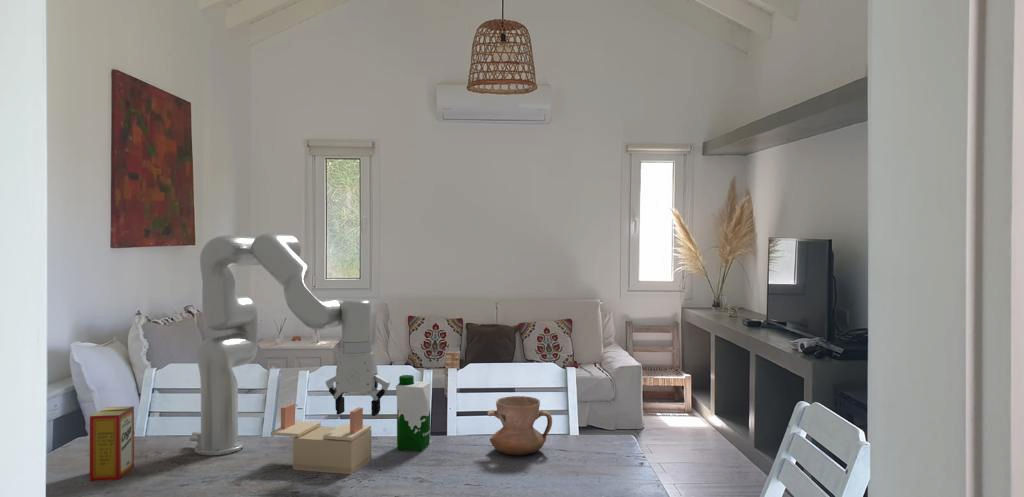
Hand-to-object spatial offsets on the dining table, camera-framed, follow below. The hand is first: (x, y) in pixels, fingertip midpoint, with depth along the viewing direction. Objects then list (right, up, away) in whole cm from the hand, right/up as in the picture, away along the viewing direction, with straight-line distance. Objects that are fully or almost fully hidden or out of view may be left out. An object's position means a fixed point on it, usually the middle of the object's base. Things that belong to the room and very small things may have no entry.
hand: (357, 414), depth 178 cm
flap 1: (-17, -5, +4) cm, 18 cm away
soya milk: (+12, -14, +17) cm, 25 cm away
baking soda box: (-60, -14, -6) cm, 62 cm away
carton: (-7, -14, +2) cm, 15 cm away
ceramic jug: (+42, -14, +13) cm, 46 cm away
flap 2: (-3, -5, +1) cm, 6 cm away
